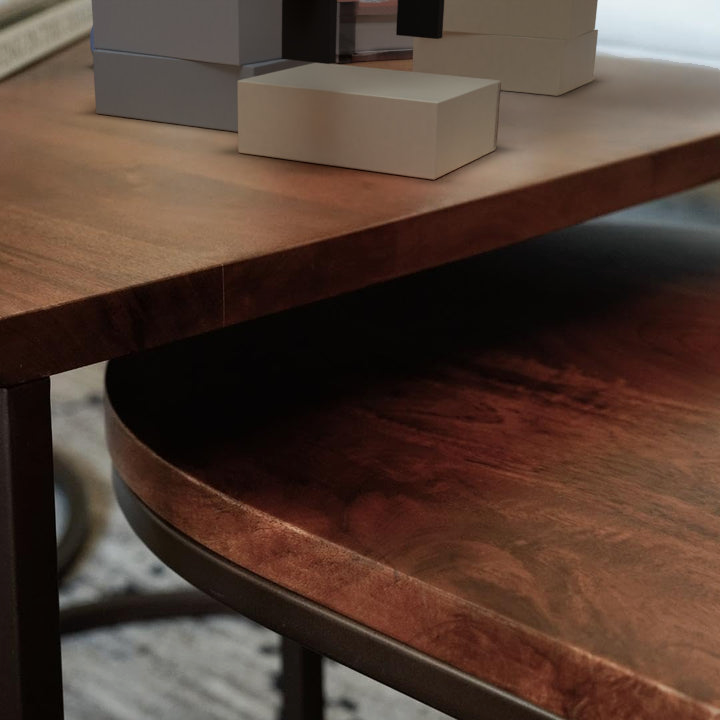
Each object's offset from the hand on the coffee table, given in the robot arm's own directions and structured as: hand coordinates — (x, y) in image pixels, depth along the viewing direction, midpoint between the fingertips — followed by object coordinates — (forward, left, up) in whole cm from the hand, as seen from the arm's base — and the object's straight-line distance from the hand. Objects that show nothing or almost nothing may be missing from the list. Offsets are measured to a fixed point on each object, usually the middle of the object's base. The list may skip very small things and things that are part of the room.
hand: (368, 48), depth 64 cm
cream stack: (+3, -30, -6) cm, 31 cm away
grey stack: (+14, -5, -6) cm, 16 cm away
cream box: (0, 0, -6) cm, 6 cm away
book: (+25, -36, -6) cm, 44 cm away
